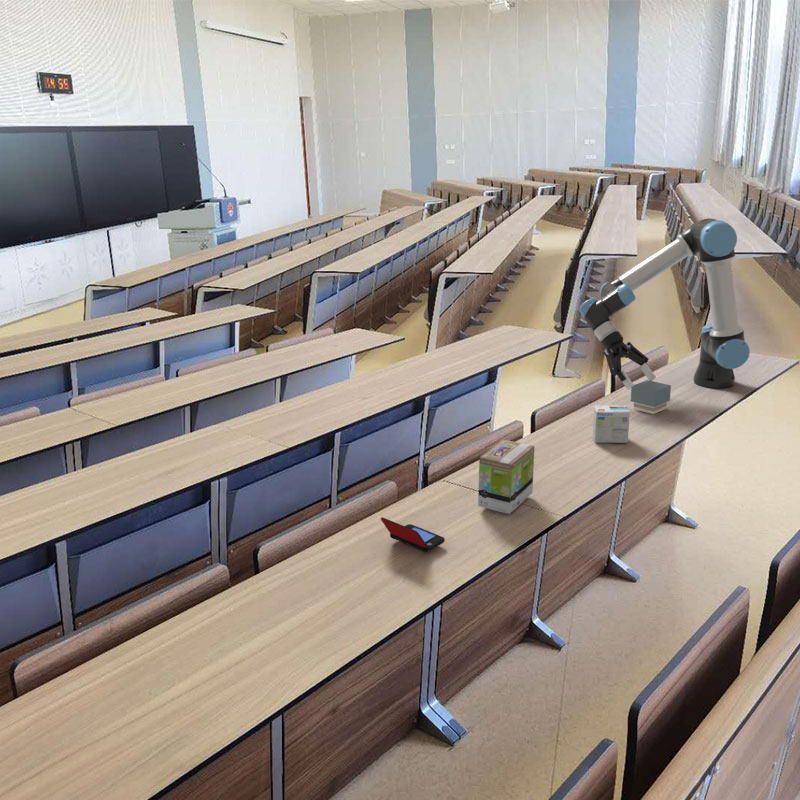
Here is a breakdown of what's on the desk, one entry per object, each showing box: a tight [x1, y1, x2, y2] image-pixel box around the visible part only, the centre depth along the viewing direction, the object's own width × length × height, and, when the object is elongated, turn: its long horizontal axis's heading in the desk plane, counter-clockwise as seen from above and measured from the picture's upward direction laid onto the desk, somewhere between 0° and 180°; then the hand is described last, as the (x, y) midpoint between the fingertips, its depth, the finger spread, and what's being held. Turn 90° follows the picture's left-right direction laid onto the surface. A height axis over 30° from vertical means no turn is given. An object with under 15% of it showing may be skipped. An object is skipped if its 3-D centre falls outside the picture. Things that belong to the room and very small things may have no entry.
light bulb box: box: [592, 405, 631, 444], centre depth 252 cm, size 11×7×11 cm, turn 84°
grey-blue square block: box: [630, 379, 672, 407], centre depth 278 cm, size 10×10×6 cm
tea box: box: [477, 439, 535, 515], centre depth 211 cm, size 15×10×15 cm
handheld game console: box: [380, 516, 446, 554], centre depth 192 cm, size 12×11×7 cm
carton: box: [633, 402, 668, 415], centre depth 279 cm, size 8×8×8 cm
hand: (642, 383), depth 279 cm, fingers open, 13 cm apart
